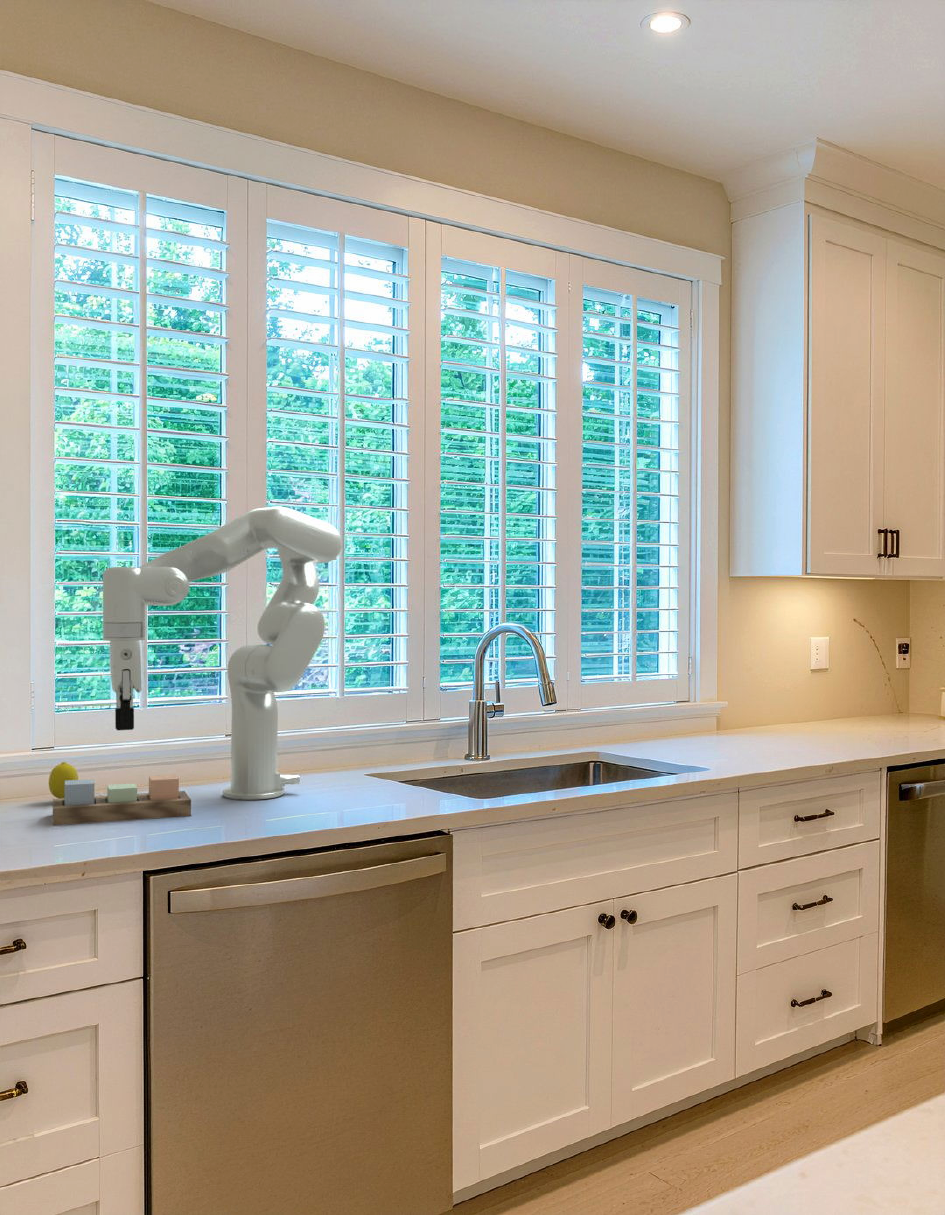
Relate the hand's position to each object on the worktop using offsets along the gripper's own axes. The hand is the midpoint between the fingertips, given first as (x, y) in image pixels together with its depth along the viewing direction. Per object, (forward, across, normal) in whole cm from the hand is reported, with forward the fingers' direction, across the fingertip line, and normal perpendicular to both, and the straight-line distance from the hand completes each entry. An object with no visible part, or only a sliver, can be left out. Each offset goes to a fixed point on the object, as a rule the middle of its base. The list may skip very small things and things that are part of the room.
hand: (124, 729), depth 186 cm
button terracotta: (+15, 0, -7) cm, 16 cm away
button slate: (+14, 0, +8) cm, 17 cm away
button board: (+16, 0, +1) cm, 16 cm away
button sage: (+16, 0, +1) cm, 16 cm away
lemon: (+16, +18, +11) cm, 26 cm away
